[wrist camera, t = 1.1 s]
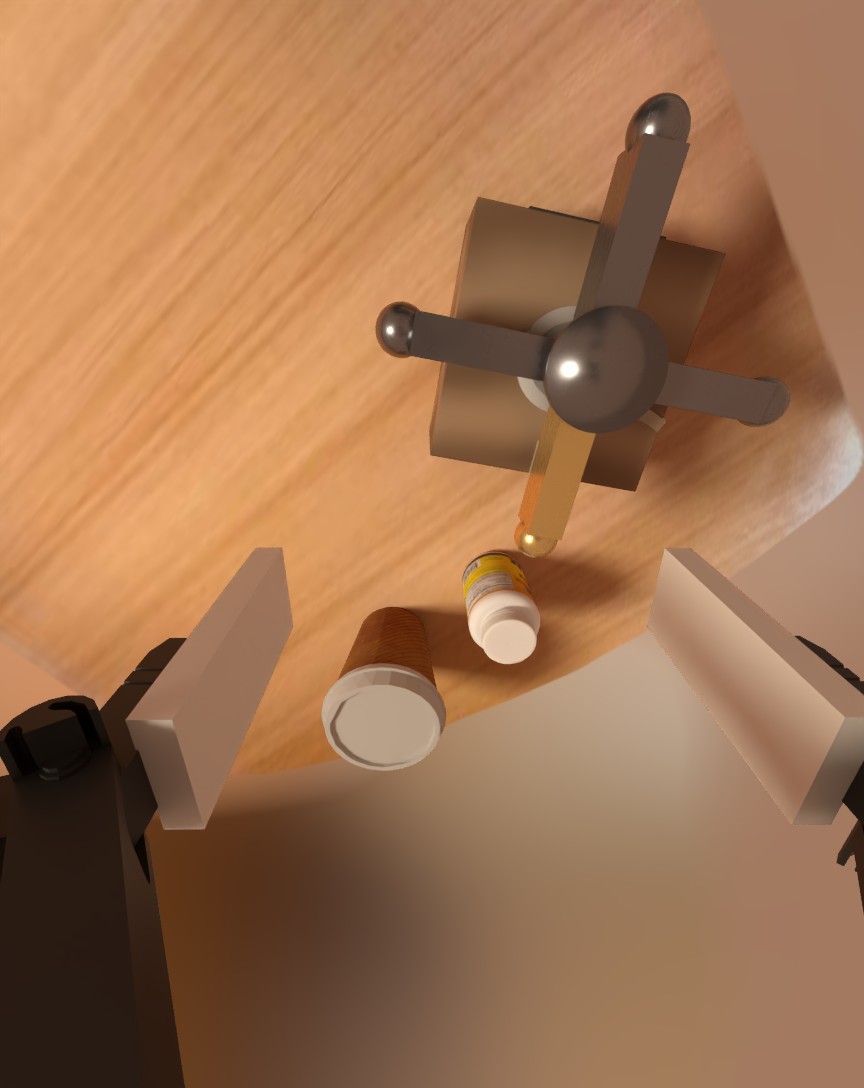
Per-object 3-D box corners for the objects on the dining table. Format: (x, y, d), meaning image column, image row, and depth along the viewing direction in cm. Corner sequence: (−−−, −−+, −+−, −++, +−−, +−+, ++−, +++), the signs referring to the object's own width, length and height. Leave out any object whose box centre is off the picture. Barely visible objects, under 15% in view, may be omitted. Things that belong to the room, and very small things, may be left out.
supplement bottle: (523, 598, 45) (548, 670, 35) (464, 604, 45) (474, 677, 36) (521, 545, 42) (548, 606, 33) (459, 551, 43) (468, 614, 33)
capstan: (413, 73, 23) (409, -21, 16) (836, 178, 25) (974, 129, 18) (359, 505, 32) (343, 548, 26) (671, 556, 34) (726, 609, 27)
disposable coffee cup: (403, 574, 43) (395, 657, 32) (460, 644, 47) (471, 740, 36) (323, 624, 46) (290, 718, 35) (383, 687, 49) (371, 791, 38)
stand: (470, 199, 32) (484, 160, 24) (670, 245, 33) (743, 221, 25) (428, 432, 38) (429, 459, 30) (597, 463, 39) (638, 496, 32)
